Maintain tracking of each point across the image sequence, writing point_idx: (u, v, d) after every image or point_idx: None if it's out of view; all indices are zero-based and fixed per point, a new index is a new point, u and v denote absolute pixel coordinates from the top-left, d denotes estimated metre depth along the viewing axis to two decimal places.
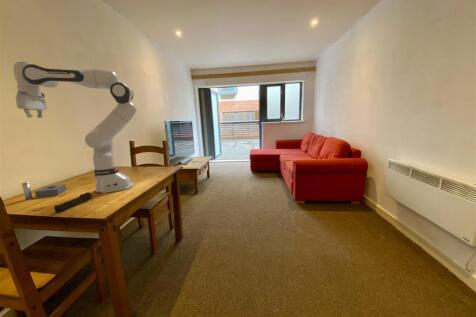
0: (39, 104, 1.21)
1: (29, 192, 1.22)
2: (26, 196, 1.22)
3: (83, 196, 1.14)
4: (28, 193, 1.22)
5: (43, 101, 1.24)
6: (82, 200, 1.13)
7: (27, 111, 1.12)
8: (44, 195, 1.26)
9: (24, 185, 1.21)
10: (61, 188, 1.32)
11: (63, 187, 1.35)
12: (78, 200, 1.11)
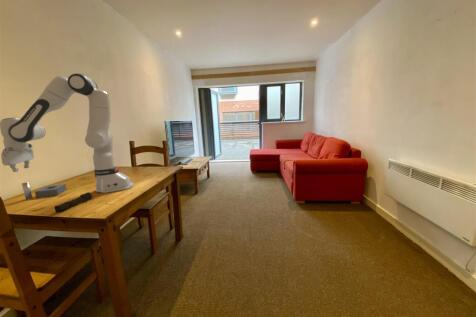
0: (26, 155, 1.22)
1: (29, 192, 1.22)
2: (26, 196, 1.22)
3: (83, 196, 1.14)
4: (28, 193, 1.22)
5: (30, 151, 1.26)
6: (82, 200, 1.13)
7: (13, 166, 1.14)
8: (44, 195, 1.26)
9: (24, 185, 1.21)
10: (61, 188, 1.32)
11: (63, 187, 1.35)
12: (78, 200, 1.11)
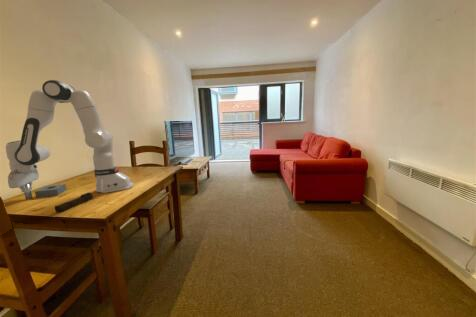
0: (31, 176, 1.25)
1: (29, 192, 1.22)
2: (26, 196, 1.22)
3: (84, 196, 1.14)
4: (28, 193, 1.22)
5: (35, 171, 1.28)
6: (83, 200, 1.13)
7: (22, 187, 1.18)
8: (44, 195, 1.26)
9: None
10: (61, 188, 1.32)
11: (63, 187, 1.35)
12: (79, 200, 1.11)
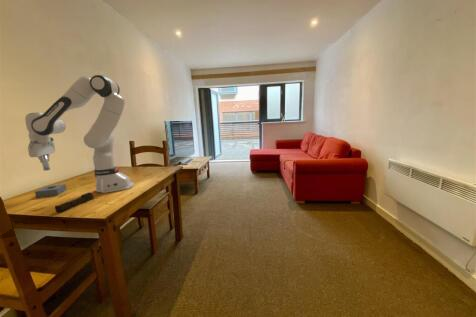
0: (49, 148, 1.30)
1: (47, 163, 1.27)
2: (44, 167, 1.26)
3: (84, 196, 1.14)
4: (46, 164, 1.27)
5: (52, 144, 1.33)
6: (83, 200, 1.13)
7: (41, 157, 1.23)
8: (44, 195, 1.26)
9: None
10: (61, 188, 1.32)
11: (63, 187, 1.35)
12: (79, 200, 1.11)
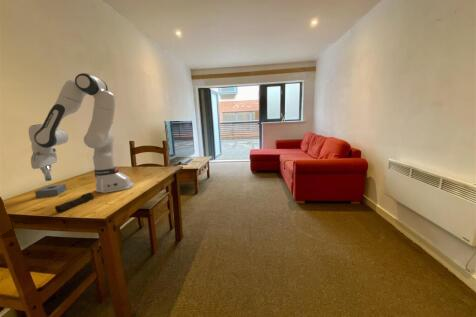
0: (51, 159, 1.31)
1: (48, 174, 1.28)
2: (46, 177, 1.28)
3: (84, 196, 1.14)
4: (48, 175, 1.28)
5: (54, 154, 1.34)
6: (83, 200, 1.13)
7: (43, 168, 1.25)
8: (44, 195, 1.26)
9: None
10: (61, 188, 1.32)
11: (63, 187, 1.35)
12: (79, 200, 1.11)
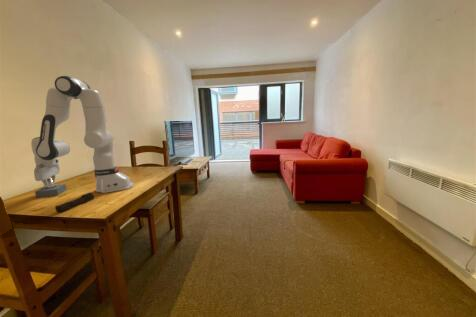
0: (53, 170, 1.32)
1: (52, 187, 1.30)
2: None
3: (85, 196, 1.14)
4: None
5: (56, 165, 1.36)
6: (84, 200, 1.13)
7: (44, 181, 1.24)
8: (44, 195, 1.26)
9: (48, 180, 1.28)
10: (61, 188, 1.32)
11: (63, 187, 1.35)
12: (79, 200, 1.11)
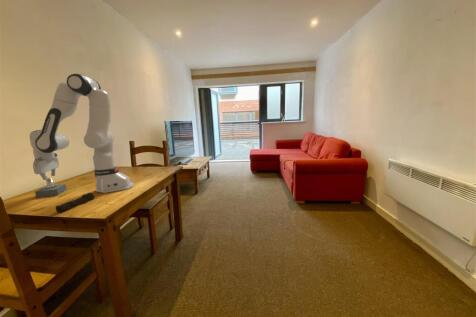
0: (53, 164, 1.32)
1: (52, 187, 1.30)
2: None
3: (85, 196, 1.14)
4: None
5: (56, 159, 1.35)
6: (84, 200, 1.13)
7: (43, 175, 1.23)
8: (44, 195, 1.26)
9: (48, 180, 1.28)
10: (61, 188, 1.32)
11: (63, 187, 1.35)
12: (80, 200, 1.11)
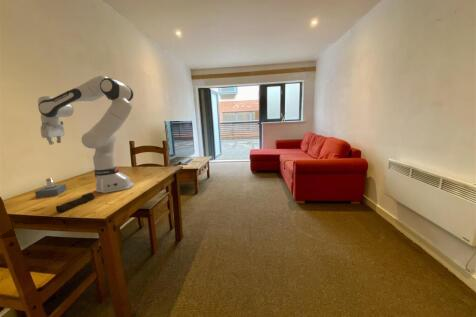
0: (59, 131, 1.37)
1: (52, 187, 1.30)
2: None
3: (85, 196, 1.14)
4: None
5: (61, 128, 1.41)
6: (84, 200, 1.13)
7: (49, 139, 1.29)
8: (44, 195, 1.26)
9: (48, 180, 1.28)
10: (61, 188, 1.32)
11: (63, 187, 1.35)
12: (80, 200, 1.11)
